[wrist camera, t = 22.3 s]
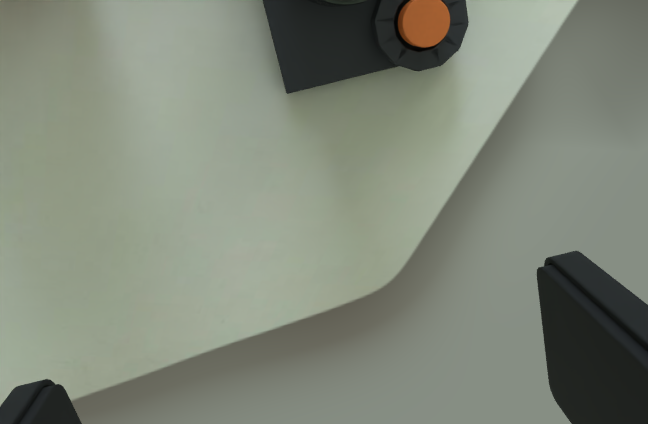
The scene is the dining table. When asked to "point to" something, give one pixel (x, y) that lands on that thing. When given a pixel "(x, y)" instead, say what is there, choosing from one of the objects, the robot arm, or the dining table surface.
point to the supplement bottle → (336, 2)
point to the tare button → (423, 22)
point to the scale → (351, 40)
